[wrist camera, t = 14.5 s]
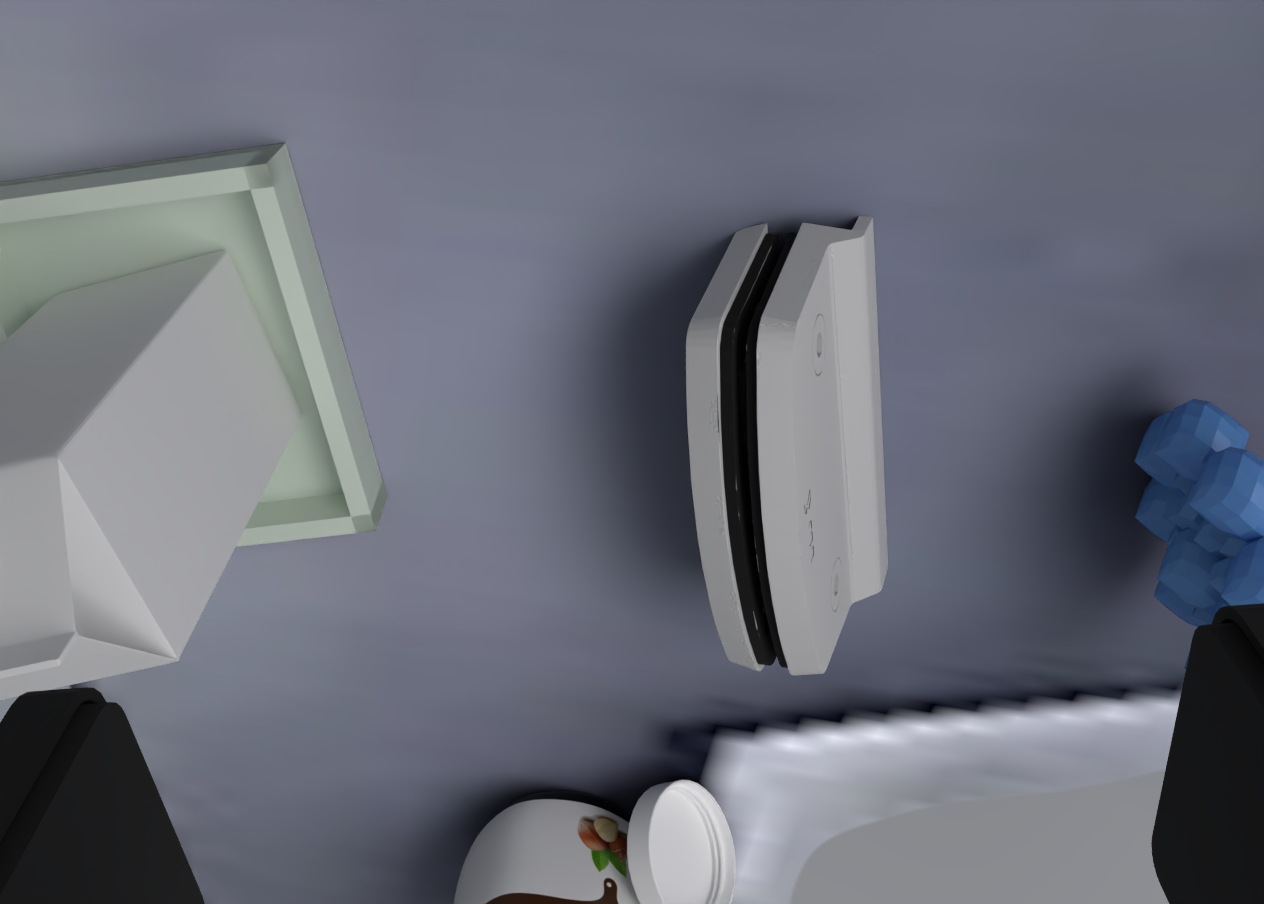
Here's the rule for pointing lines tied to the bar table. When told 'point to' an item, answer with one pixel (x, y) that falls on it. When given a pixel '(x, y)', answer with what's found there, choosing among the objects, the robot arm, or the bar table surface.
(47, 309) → the milk carton
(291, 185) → the tray
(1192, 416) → the grapes
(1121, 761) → the bar table surface
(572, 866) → the spread jar
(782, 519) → the grey piece
